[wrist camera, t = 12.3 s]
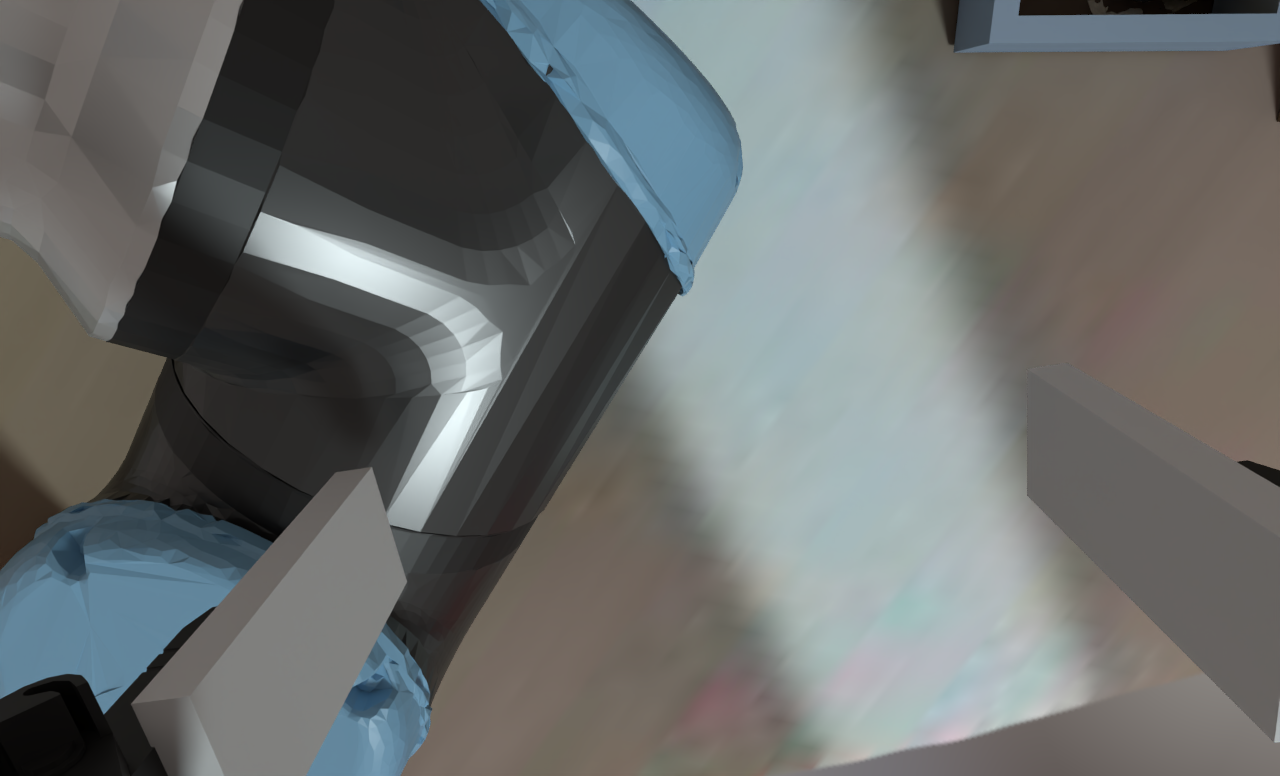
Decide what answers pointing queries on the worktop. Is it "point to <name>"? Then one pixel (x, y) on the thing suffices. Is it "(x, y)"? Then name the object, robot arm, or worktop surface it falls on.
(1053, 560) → the worktop surface
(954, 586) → the worktop surface
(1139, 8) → the condiment
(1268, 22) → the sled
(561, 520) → the worktop surface
